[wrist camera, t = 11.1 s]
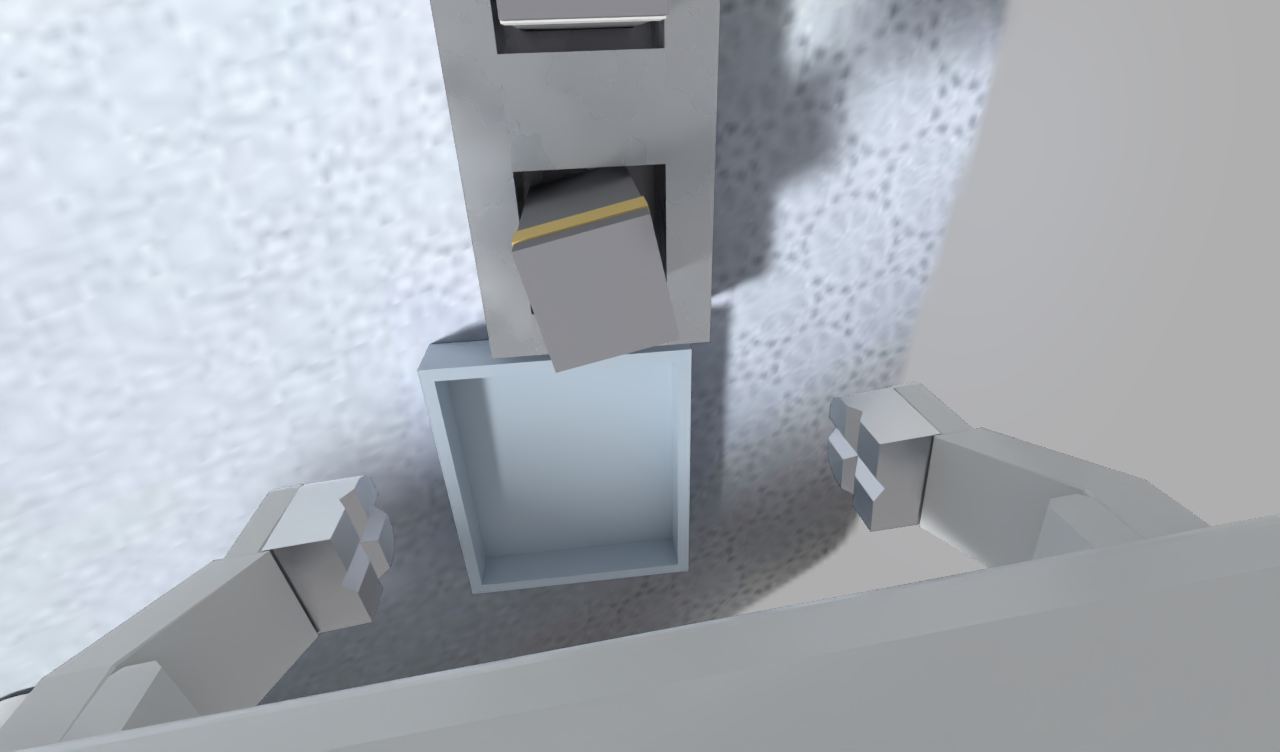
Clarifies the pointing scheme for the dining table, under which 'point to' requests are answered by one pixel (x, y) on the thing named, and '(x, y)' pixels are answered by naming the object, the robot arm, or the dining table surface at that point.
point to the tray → (563, 463)
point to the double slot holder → (584, 141)
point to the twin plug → (579, 13)
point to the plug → (593, 268)
